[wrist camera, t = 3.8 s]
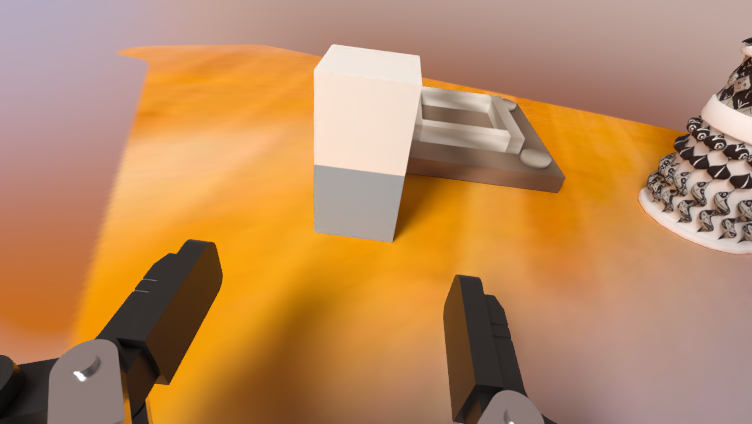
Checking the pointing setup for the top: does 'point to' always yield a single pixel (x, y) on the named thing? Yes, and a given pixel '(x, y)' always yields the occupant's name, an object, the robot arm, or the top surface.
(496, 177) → the socket plate
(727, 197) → the decorative candle
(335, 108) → the post
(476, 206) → the top surface
